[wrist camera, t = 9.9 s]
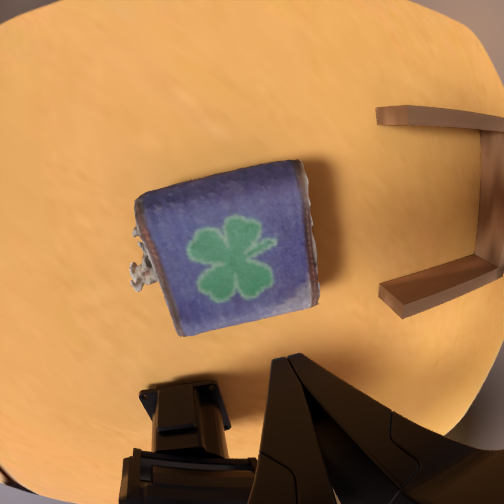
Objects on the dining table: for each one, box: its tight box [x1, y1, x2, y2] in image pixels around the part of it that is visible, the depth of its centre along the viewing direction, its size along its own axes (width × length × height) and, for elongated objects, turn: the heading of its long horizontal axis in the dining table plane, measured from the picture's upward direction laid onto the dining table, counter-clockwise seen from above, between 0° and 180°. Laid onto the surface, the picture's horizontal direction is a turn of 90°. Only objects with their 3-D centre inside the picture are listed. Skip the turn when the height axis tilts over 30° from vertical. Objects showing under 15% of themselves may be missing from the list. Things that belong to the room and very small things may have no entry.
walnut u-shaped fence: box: [376, 105, 504, 319], centre depth 20 cm, size 14×13×4 cm
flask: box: [129, 159, 320, 337], centre depth 17 cm, size 9×3×11 cm
